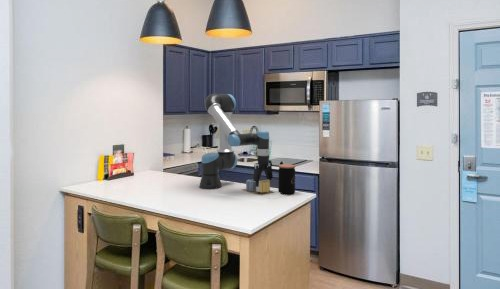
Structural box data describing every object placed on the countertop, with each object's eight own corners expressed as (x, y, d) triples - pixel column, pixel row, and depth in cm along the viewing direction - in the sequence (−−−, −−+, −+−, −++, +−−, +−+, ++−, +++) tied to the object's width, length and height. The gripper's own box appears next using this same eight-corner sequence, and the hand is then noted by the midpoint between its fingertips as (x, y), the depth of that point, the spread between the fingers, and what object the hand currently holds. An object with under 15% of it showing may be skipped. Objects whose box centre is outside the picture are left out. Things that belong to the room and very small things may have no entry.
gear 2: (253, 190, 234) (253, 181, 233) (262, 188, 240) (262, 179, 239) (262, 193, 228) (263, 183, 227) (272, 191, 233) (272, 181, 232)
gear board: (240, 191, 241) (240, 183, 240) (254, 188, 249) (254, 180, 248) (261, 196, 226) (261, 188, 226) (275, 193, 234) (275, 185, 234)
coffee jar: (294, 195, 230) (294, 167, 228) (277, 194, 232) (277, 166, 230) (295, 191, 240) (295, 164, 238) (279, 190, 242) (279, 164, 241)
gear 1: (243, 190, 240) (243, 181, 239) (250, 187, 247) (250, 178, 246) (254, 191, 235) (254, 182, 235) (261, 189, 242) (261, 180, 242)
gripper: (255, 157, 222) (255, 194, 224) (278, 154, 235) (278, 189, 238) (247, 156, 227) (247, 192, 230) (270, 153, 241) (270, 187, 243)
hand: (263, 190), depth 234 cm, fingers closed on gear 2, 8 cm apart
